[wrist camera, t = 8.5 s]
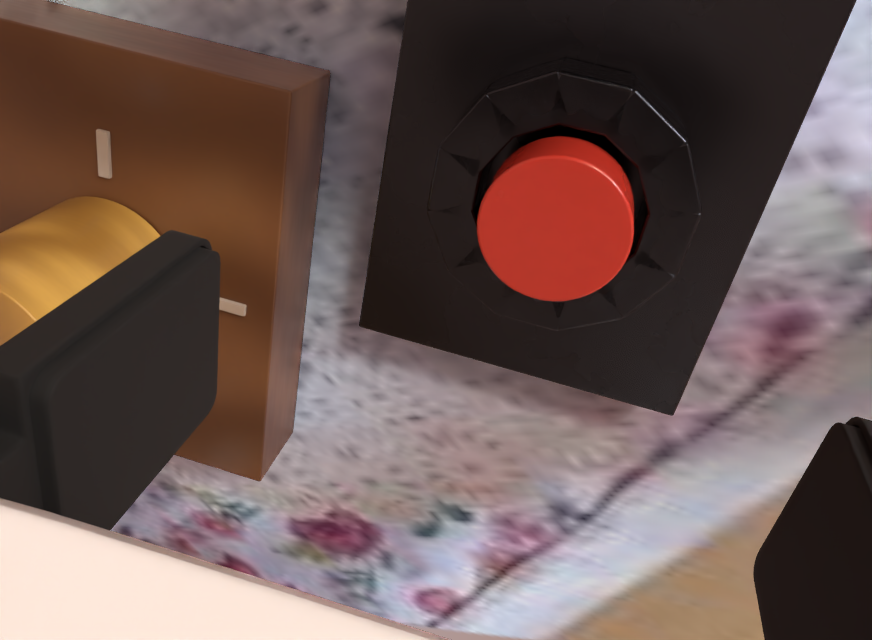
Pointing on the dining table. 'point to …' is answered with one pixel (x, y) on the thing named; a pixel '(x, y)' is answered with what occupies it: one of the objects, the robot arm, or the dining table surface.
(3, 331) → the dial knob
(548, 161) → the red button
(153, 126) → the knob panel
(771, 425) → the dining table surface
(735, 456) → the dining table surface
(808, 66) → the button box
